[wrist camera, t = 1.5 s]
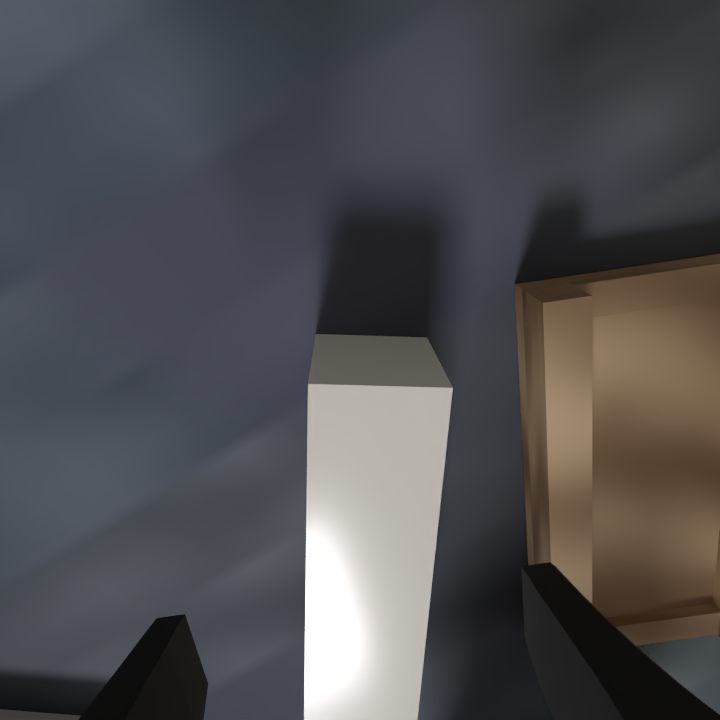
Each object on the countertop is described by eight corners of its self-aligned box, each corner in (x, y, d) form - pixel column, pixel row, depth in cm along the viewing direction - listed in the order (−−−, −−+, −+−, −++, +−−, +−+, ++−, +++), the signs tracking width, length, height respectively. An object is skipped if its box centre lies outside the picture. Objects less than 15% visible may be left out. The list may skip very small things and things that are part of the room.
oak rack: (732, 606, 24) (780, 659, 22) (531, 634, 24) (554, 690, 22) (772, 245, 19) (843, 258, 16) (514, 284, 19) (542, 302, 16)
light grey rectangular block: (400, 634, 24) (414, 745, 20) (311, 633, 24) (303, 746, 20) (425, 335, 20) (453, 387, 15) (315, 332, 20) (308, 384, 15)
